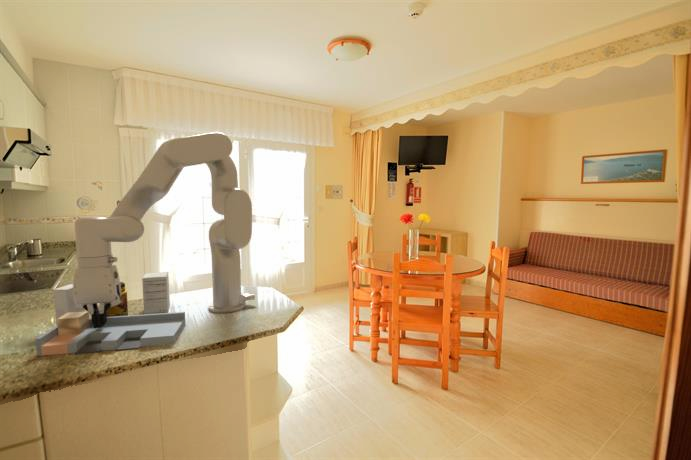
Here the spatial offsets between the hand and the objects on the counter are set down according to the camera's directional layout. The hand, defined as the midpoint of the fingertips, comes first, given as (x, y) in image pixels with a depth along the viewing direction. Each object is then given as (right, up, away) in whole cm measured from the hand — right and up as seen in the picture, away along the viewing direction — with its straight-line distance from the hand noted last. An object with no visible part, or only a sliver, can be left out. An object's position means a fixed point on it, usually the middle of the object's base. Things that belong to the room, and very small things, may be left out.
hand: (99, 326), depth 92 cm
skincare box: (-15, -2, +9) cm, 18 cm away
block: (-6, -1, -1) cm, 6 cm away
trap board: (+7, -3, -1) cm, 7 cm away
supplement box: (+3, -1, +23) cm, 23 cm away
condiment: (-5, -2, +12) cm, 14 cm away
